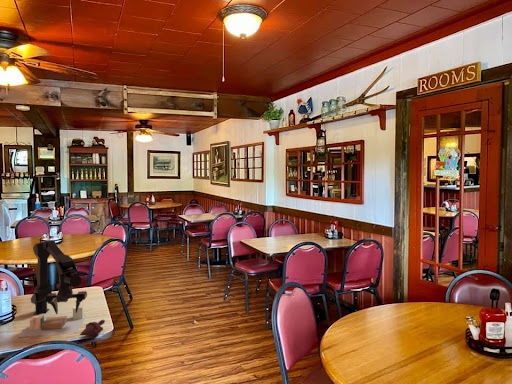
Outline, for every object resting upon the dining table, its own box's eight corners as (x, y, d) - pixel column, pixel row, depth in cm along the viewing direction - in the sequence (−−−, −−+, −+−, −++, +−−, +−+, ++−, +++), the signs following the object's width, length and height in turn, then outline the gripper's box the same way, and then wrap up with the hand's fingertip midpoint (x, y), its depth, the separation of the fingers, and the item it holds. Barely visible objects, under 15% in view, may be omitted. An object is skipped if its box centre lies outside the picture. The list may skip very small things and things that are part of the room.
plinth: (47, 323, 196) (47, 317, 196) (66, 322, 198) (66, 316, 198) (41, 331, 188) (41, 324, 187) (61, 329, 189) (61, 323, 189)
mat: (34, 319, 202) (34, 318, 202) (87, 315, 207) (87, 314, 207) (18, 337, 180) (18, 336, 180) (77, 333, 186) (77, 332, 186)
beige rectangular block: (73, 316, 205) (73, 305, 204) (82, 315, 206) (82, 304, 206) (73, 319, 201) (72, 308, 200) (82, 318, 202) (82, 307, 202)
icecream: (88, 330, 174) (111, 321, 188) (75, 324, 176) (99, 315, 190) (84, 344, 174) (107, 334, 188) (72, 338, 177) (96, 328, 191)
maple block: (44, 324, 194) (33, 325, 193) (44, 315, 194) (33, 316, 193) (41, 329, 189) (30, 329, 188) (40, 319, 189) (29, 320, 188)
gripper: (39, 289, 183) (41, 320, 184) (81, 286, 186) (82, 317, 187) (47, 282, 194) (48, 312, 195) (86, 280, 197) (87, 309, 198)
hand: (66, 313), depth 193 cm, fingers open, 9 cm apart
